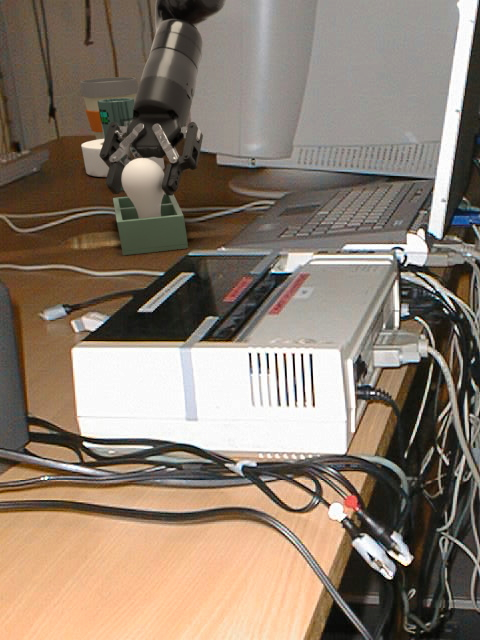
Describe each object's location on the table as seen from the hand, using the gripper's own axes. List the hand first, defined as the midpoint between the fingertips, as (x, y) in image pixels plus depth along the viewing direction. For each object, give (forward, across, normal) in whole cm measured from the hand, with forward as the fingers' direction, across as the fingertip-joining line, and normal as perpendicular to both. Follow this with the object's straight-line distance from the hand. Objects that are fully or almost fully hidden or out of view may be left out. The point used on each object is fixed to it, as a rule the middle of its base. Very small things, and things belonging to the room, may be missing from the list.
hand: (139, 191), depth 126 cm
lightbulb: (+4, 0, +6) cm, 7 cm away
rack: (+2, -2, +9) cm, 9 cm away
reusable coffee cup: (-48, -50, +60) cm, 92 cm away
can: (-22, -26, +34) cm, 48 cm away
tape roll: (-34, -36, +45) cm, 67 cm away
